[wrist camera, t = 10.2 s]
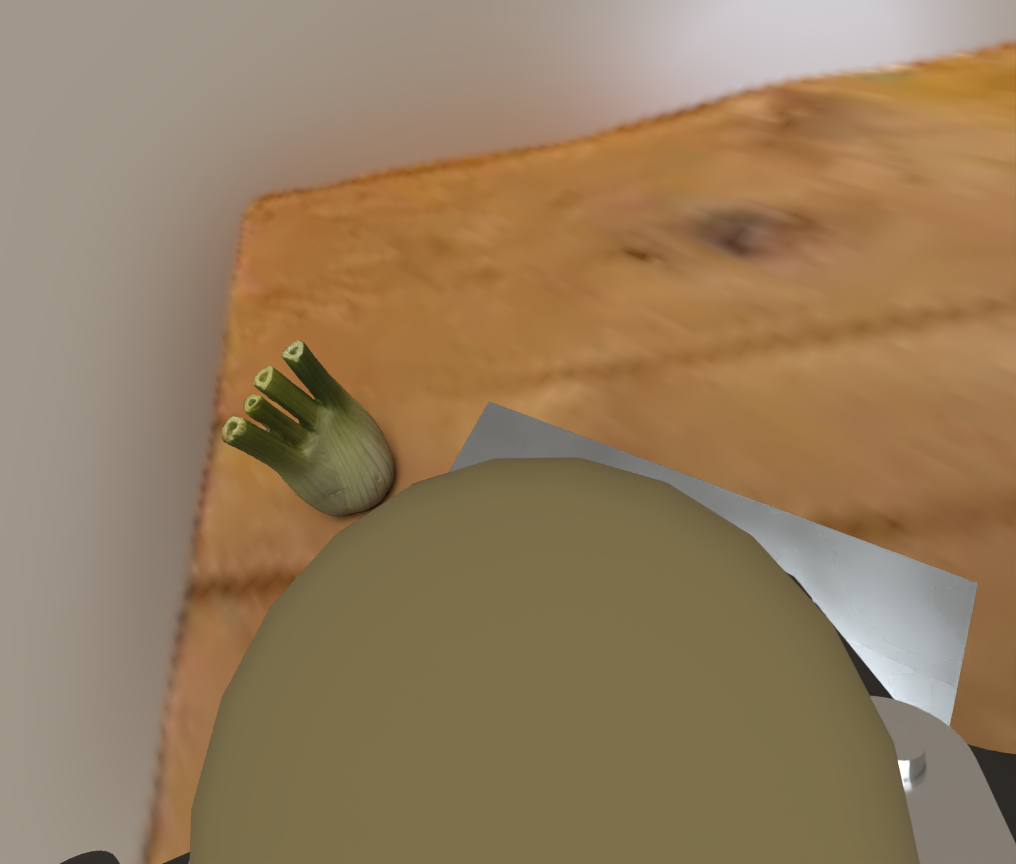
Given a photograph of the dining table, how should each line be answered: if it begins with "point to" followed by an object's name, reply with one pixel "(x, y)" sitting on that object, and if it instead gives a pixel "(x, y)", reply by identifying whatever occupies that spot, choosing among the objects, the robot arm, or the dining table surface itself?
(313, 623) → the cork
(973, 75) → the dining table surface
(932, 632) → the drop box
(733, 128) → the dining table surface
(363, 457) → the fennel bulb
